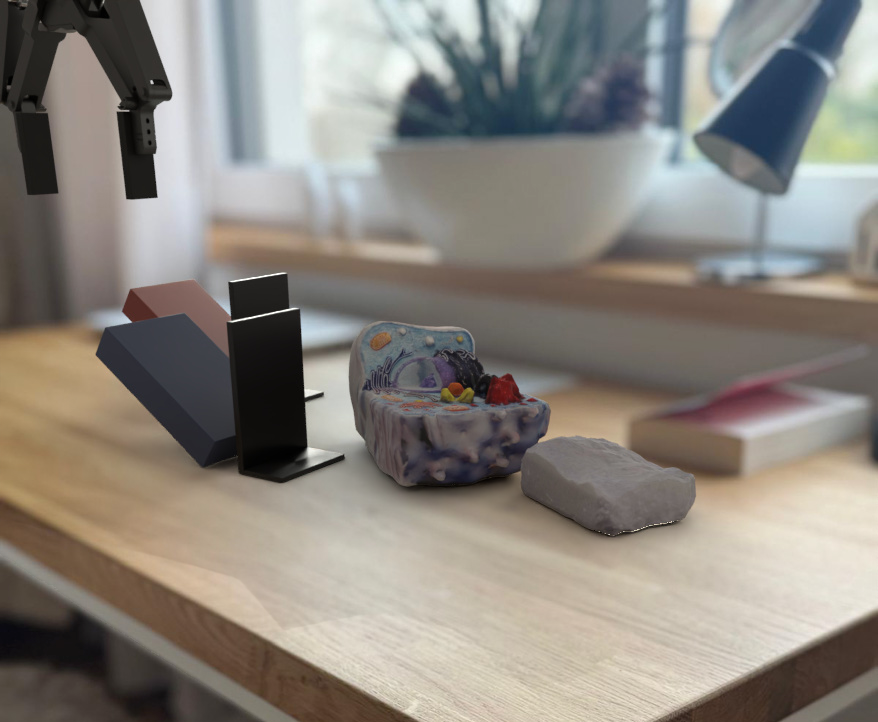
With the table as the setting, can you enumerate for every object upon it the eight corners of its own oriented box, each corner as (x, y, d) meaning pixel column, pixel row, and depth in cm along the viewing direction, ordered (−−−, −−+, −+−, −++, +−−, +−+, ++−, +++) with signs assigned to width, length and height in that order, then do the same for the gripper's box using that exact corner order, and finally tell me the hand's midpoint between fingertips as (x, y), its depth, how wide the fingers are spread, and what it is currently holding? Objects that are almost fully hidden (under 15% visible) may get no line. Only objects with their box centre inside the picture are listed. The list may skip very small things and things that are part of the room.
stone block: (610, 495, 86) (504, 489, 81) (624, 437, 85) (518, 427, 80) (707, 548, 77) (594, 544, 72) (725, 483, 75) (612, 475, 70)
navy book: (94, 354, 91) (104, 327, 89) (173, 338, 98) (184, 312, 96) (202, 468, 88) (215, 442, 86) (275, 443, 95) (289, 418, 93)
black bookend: (237, 405, 108) (227, 281, 103) (290, 390, 114) (283, 272, 109) (272, 411, 105) (264, 285, 101) (324, 395, 111) (318, 275, 107)
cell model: (449, 305, 96) (572, 348, 79) (448, 423, 100) (564, 488, 84) (311, 315, 90) (412, 364, 74) (315, 440, 95) (412, 512, 78)
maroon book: (121, 311, 112) (129, 288, 110) (184, 300, 119) (193, 278, 117) (208, 402, 109) (218, 379, 107) (268, 385, 116) (279, 364, 114)
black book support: (238, 473, 87) (225, 321, 82) (302, 450, 93) (294, 307, 88) (281, 483, 84) (271, 327, 79) (345, 458, 90) (339, 312, 86)
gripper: (202, -115, 79) (226, 198, 88) (-3, -82, 92) (36, 190, 100) (123, -133, 74) (157, 203, 82) (-84, -96, 86) (-36, 194, 94)
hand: (90, 196), depth 91 cm, fingers open, 12 cm apart
